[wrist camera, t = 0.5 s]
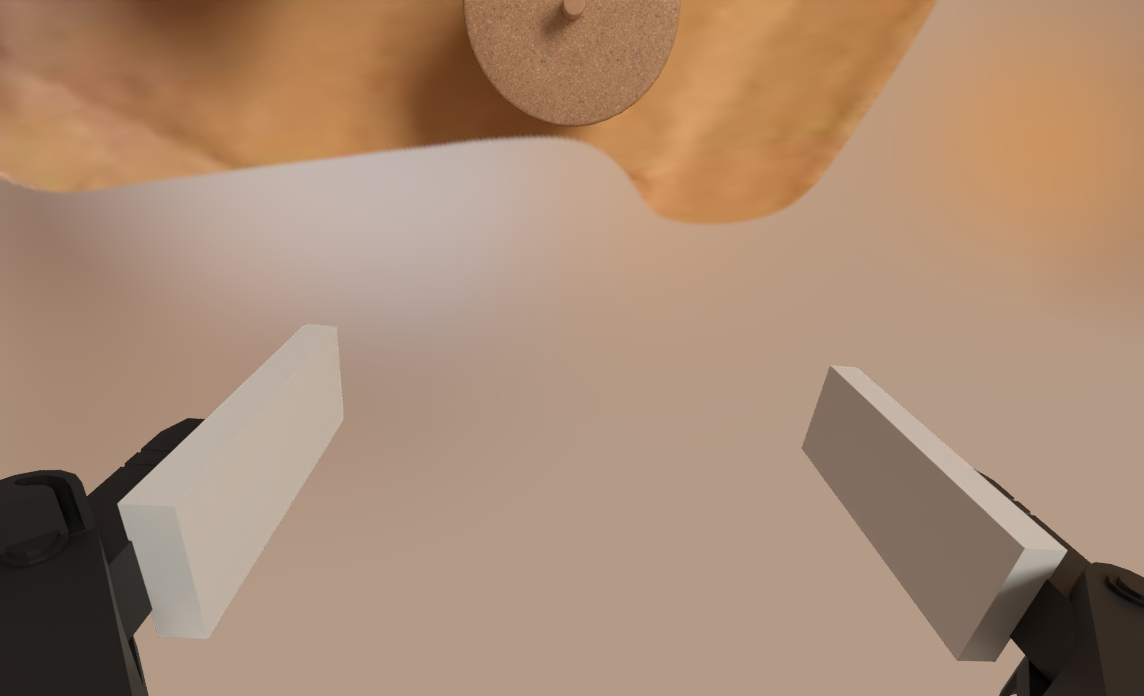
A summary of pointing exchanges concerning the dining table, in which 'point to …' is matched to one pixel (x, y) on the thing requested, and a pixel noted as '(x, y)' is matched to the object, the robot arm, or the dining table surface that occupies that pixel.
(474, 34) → the lidded jar
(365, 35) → the dining table surface
